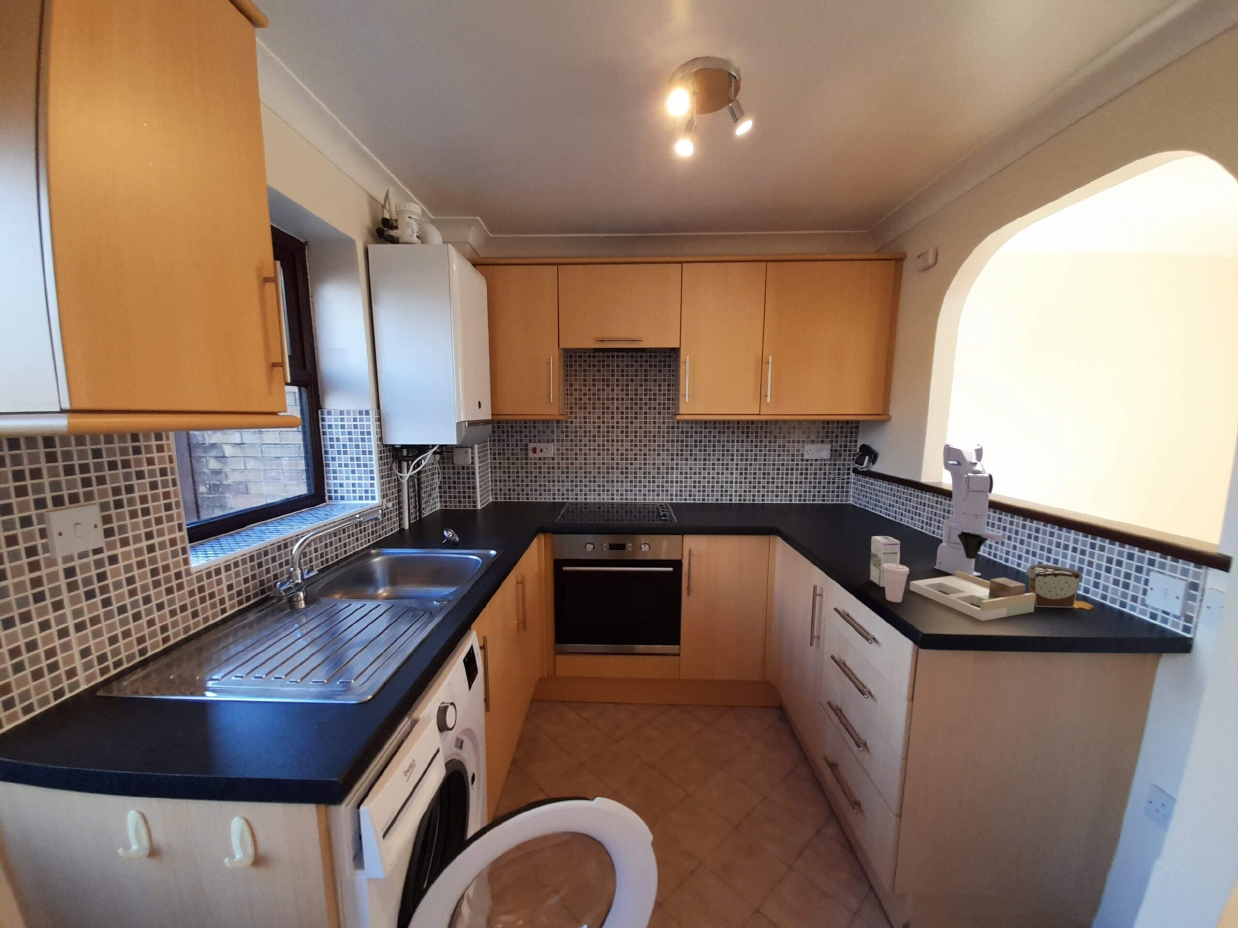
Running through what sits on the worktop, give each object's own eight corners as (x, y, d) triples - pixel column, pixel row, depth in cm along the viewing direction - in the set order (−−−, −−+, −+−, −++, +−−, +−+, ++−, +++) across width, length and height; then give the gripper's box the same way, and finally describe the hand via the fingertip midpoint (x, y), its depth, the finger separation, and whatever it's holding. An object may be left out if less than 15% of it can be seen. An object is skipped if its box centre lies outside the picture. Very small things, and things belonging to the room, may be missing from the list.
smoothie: (911, 605, 114) (915, 556, 112) (886, 603, 115) (889, 555, 114) (900, 595, 120) (903, 548, 119) (876, 593, 121) (879, 548, 120)
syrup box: (898, 586, 126) (901, 541, 124) (879, 586, 126) (881, 541, 125) (887, 579, 132) (889, 535, 130) (868, 579, 132) (870, 535, 130)
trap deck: (909, 589, 124) (910, 573, 124) (955, 582, 128) (957, 567, 128) (982, 620, 105) (984, 602, 104) (1033, 611, 109) (1035, 593, 109)
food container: (1057, 597, 117) (1061, 563, 116) (1079, 607, 111) (1083, 572, 110) (1010, 596, 118) (1013, 563, 117) (1029, 606, 112) (1033, 571, 111)
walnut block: (988, 596, 113) (990, 579, 112) (1002, 594, 114) (1003, 577, 113) (1009, 604, 108) (1011, 586, 107) (1023, 602, 109) (1025, 584, 108)
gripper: (939, 509, 128) (936, 551, 129) (991, 520, 114) (987, 567, 115) (956, 507, 130) (953, 549, 131) (1010, 518, 116) (1006, 565, 117)
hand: (970, 558), depth 123 cm, fingers closed
